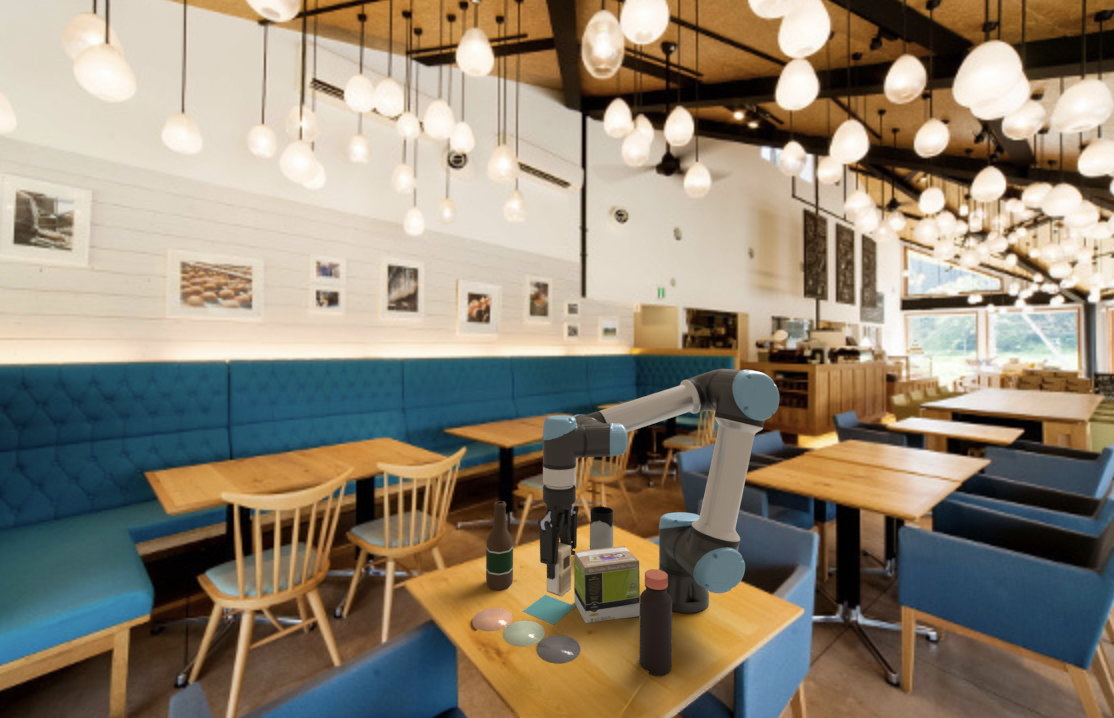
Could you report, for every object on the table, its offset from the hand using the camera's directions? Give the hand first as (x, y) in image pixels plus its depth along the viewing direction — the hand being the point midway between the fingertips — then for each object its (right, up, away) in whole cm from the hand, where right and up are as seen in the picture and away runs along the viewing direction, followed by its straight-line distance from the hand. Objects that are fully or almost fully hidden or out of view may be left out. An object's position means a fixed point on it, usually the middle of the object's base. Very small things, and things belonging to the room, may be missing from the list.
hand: (558, 586), depth 104 cm
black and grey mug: (+15, -14, +52) cm, 56 cm away
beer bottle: (-17, -14, +30) cm, 37 cm away
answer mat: (-2, -14, +16) cm, 21 cm away
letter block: (0, -1, 0) cm, 1 cm away
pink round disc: (-17, -14, +11) cm, 25 cm away
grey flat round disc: (0, -14, 0) cm, 14 cm away
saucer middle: (-8, -14, +5) cm, 17 cm away
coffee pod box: (+12, -15, +16) cm, 25 cm away
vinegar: (+21, -15, -5) cm, 26 cm away
